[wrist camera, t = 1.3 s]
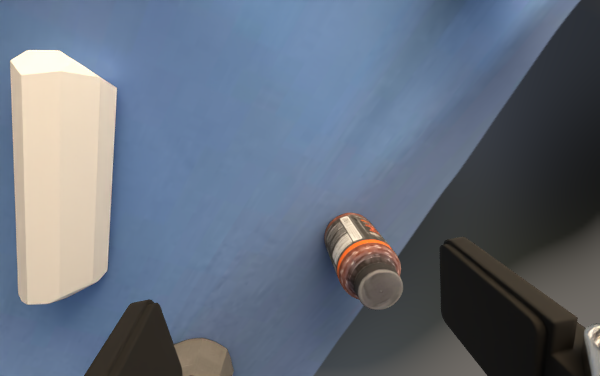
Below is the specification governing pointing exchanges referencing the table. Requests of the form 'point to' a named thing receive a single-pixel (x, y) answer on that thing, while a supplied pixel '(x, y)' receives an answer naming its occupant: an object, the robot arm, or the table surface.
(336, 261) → the supplement bottle
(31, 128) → the crystal
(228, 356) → the coffeepot
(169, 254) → the table surface
